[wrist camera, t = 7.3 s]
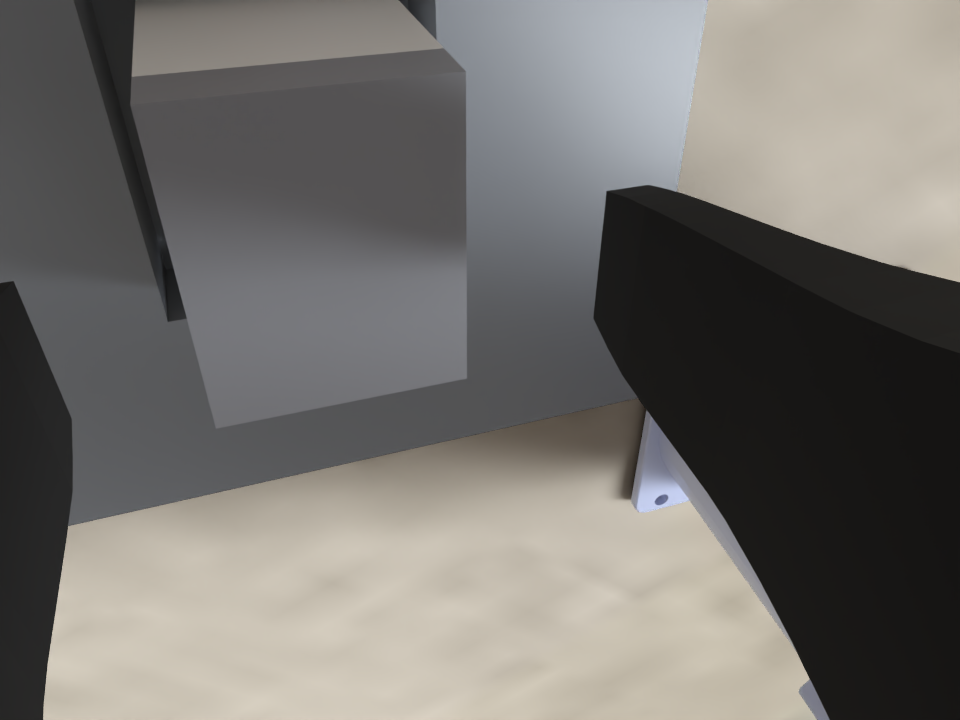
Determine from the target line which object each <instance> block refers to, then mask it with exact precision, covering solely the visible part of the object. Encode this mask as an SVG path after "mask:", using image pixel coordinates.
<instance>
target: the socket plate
mask: <svg viewBox="0 0 960 720" xmlns="http://www.w3.org/2000/svg"><path fill="white" fill-rule="evenodd" d="M399 1H400V2H401V3H402V4H403V5H404V6H405V7H406V8H407V10H408V11H409V12H410V13H411V14H412V15H413V16H414V17H415V18H416V19H417V20H418V21H419V22H420V23H421V24H422V25H423V27H424V28H425V29H426V30H427V31H428V32H429V33H430V34H431V35H432V36H433V37H434V38H435V39H436V40H437V41H438V42H439V43H440V45H441V46H442V47H443V48H444V49H445V50H446V51H447V52H448V53H449V54H450V55H451V56H452V57H453V58H454V59H455V60H456V62H457V63H458V64H459V65H460V66H461V67H462V68H463V69H464V70H465V71H466V240H467V379H462V380H457V381H452V382H447V383H442V384H437V385H432V386H427V387H422V388H417V389H412V390H407V391H402V392H397V393H392V394H387V395H382V396H377V397H372V398H367V399H362V400H357V401H352V402H347V403H342V404H337V405H332V406H327V407H322V408H317V409H312V410H307V411H302V412H297V413H292V414H287V415H282V416H277V417H272V418H267V419H262V420H257V421H252V422H247V423H242V424H237V425H232V426H227V427H222V428H217V429H216V427H215V423H214V419H213V415H212V412H211V408H210V404H209V400H208V397H207V393H206V389H205V385H204V381H203V378H202V374H201V370H200V366H199V363H198V359H197V355H196V351H195V347H194V344H193V340H192V336H191V332H190V329H189V325H188V321H187V317H186V313H185V310H184V306H183V302H182V298H181V295H180V291H179V287H178V283H177V280H176V276H175V272H174V268H173V264H172V261H171V257H170V253H169V249H168V246H167V242H166V238H165V234H164V230H163V227H162V223H161V219H160V215H159V212H158V208H157V204H156V200H155V196H154V193H153V189H152V185H151V181H150V178H149V174H148V170H147V166H146V163H145V159H144V155H143V151H142V147H141V144H140V140H139V136H138V132H137V129H136V125H135V121H134V117H133V113H132V110H131V106H130V100H131V80H132V59H133V39H134V19H135V0H0V283H3V282H10V281H14V283H15V285H16V288H17V290H18V292H19V295H20V297H21V300H22V302H23V304H24V307H25V309H26V311H27V314H28V316H29V319H30V321H31V323H32V326H33V328H34V330H35V333H36V335H37V338H38V340H39V342H40V345H41V347H42V349H43V352H44V354H45V357H46V359H47V361H48V364H49V366H50V368H51V371H52V373H53V375H54V378H55V380H56V383H57V385H58V387H59V390H60V392H61V394H62V397H63V399H64V402H65V404H66V406H67V409H68V411H69V413H70V416H71V418H72V447H73V493H72V501H71V508H70V516H69V523H68V526H70V525H75V524H79V523H84V522H88V521H93V520H97V519H102V518H106V517H110V516H115V515H119V514H124V513H128V512H133V511H137V510H142V509H146V508H151V507H155V506H159V505H164V504H168V503H173V502H177V501H182V500H186V499H191V498H195V497H200V496H204V495H208V494H213V493H217V492H222V491H226V490H231V489H235V488H240V487H244V486H249V485H253V484H257V483H262V482H266V481H271V480H275V479H280V478H284V477H289V476H293V475H297V474H302V473H306V472H311V471H315V470H320V469H324V468H329V467H333V466H338V465H342V464H346V463H351V462H355V461H360V460H364V459H369V458H373V457H378V456H382V455H387V454H391V453H395V452H400V451H404V450H409V449H413V448H418V447H422V446H427V445H431V444H436V443H440V442H444V441H449V440H453V439H458V438H462V437H467V436H471V435H476V434H480V433H485V432H489V431H493V430H498V429H502V428H507V427H511V426H516V425H520V424H525V423H529V422H533V421H538V420H542V419H547V418H551V417H556V416H560V415H565V414H569V413H574V412H578V411H582V410H587V409H591V408H596V407H600V406H605V405H609V404H614V403H618V402H623V401H627V400H631V399H636V398H638V397H637V396H636V394H635V393H634V391H633V390H632V389H631V387H630V386H629V384H628V383H627V381H626V380H625V379H624V377H623V376H622V374H621V372H620V370H619V368H618V367H617V365H616V363H615V361H614V359H613V357H612V355H611V354H610V352H609V350H608V348H607V346H606V344H605V342H604V340H603V338H602V335H601V333H600V331H599V329H598V327H597V325H596V323H595V321H594V319H593V316H594V306H595V296H596V287H597V277H598V268H599V258H600V249H601V239H602V230H603V220H604V210H605V201H606V191H610V190H617V189H624V188H630V187H637V186H643V185H652V186H656V187H661V188H665V189H668V190H672V191H675V192H677V187H678V180H679V174H680V168H681V162H682V156H683V150H684V144H685V138H686V132H687V126H688V120H689V114H690V108H691V102H692V95H693V89H694V83H695V77H696V71H697V65H698V59H699V53H700V47H701V41H702V35H703V29H704V23H705V17H706V10H707V4H708V0H399Z"/></svg>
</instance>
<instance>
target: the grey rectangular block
mask: <svg viewBox="0 0 960 720" xmlns="http://www.w3.org/2000/svg"><path fill="white" fill-rule="evenodd" d="M130 106H131V110H132V113H133V117H134V121H135V125H136V129H137V132H138V136H139V140H140V144H141V147H142V151H143V155H144V159H145V163H146V166H147V170H148V174H149V178H150V181H151V185H152V189H153V193H154V196H155V200H156V204H157V208H158V212H159V215H160V219H161V223H162V227H163V230H164V234H165V238H166V242H167V246H168V249H169V253H170V257H171V261H172V264H173V268H174V272H175V276H176V280H177V283H178V287H179V291H180V295H181V298H182V302H183V306H184V310H185V313H186V317H187V321H188V325H189V329H190V332H191V336H192V340H193V344H194V347H195V351H196V355H197V359H198V363H199V366H200V370H201V374H202V378H203V381H204V385H205V389H206V393H207V397H208V400H209V404H210V408H211V412H212V415H213V419H214V423H215V427H216V429H217V428H222V427H227V426H232V425H237V424H242V423H247V422H252V421H257V420H262V419H267V418H272V417H277V416H282V415H287V414H292V413H297V412H302V411H307V410H312V409H317V408H322V407H327V406H332V405H337V404H342V403H347V402H352V401H357V400H362V399H367V398H372V397H377V396H382V395H387V394H392V393H397V392H402V391H407V390H412V389H417V388H422V387H427V386H432V385H437V384H442V383H447V382H452V381H457V380H462V379H467V240H466V71H465V70H464V69H463V68H462V67H461V66H460V65H459V64H458V63H457V62H456V60H455V59H454V58H453V57H452V56H451V55H450V54H449V53H448V52H447V51H446V50H445V49H444V48H443V47H442V46H441V45H440V43H439V42H438V41H437V40H436V39H435V38H434V37H433V36H432V35H431V34H430V33H429V32H428V31H427V30H426V29H425V28H424V27H423V25H422V24H421V23H420V22H419V21H418V20H417V19H416V18H415V17H414V16H413V15H412V14H411V13H410V12H409V11H408V10H407V8H406V7H405V6H404V5H403V4H402V3H401V2H400V1H399V0H135V19H134V39H133V59H132V80H131V100H130Z"/></svg>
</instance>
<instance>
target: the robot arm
mask: <svg viewBox="0 0 960 720" xmlns="http://www.w3.org/2000/svg"><path fill="white" fill-rule="evenodd" d="M593 319H594V321H595V323H596V325H597V327H598V329H599V331H600V333H601V335H602V338H603V340H604V342H605V344H606V346H607V348H608V350H609V352H610V354H611V355H612V357H613V359H614V361H615V363H616V365H617V367H618V368H619V370H620V372H621V374H622V376H623V377H624V379H625V380H626V381H627V383H628V384H629V386H630V387H631V389H632V390H633V391H634V393H635V394H636V396H637V397H638V398H639V400H640V401H641V403H642V404H643V405H644V407H645V408H646V416H645V421H644V427H643V433H642V439H641V445H640V451H639V457H638V462H637V468H636V474H635V480H634V486H633V492H632V498H631V502H632V504H633V506H634V508H635V509H636V510H637V511H638V512H649V511H652V510H656V509H660V508H664V507H668V506H671V505H675V504H679V503H683V502H687V501H690V502H691V503H692V505H693V506H694V507H695V509H696V510H697V512H698V513H699V514H700V516H701V517H702V519H703V520H704V522H705V523H706V524H707V526H708V527H709V529H710V530H711V531H712V533H713V534H714V536H715V537H716V539H717V540H718V541H719V543H720V544H721V546H722V547H723V548H724V550H725V551H726V553H727V554H728V555H729V557H730V558H731V560H732V561H733V563H734V564H735V565H736V567H737V568H738V570H739V571H740V572H741V574H742V575H743V577H744V578H745V580H746V581H747V582H748V584H749V585H750V587H751V588H752V589H753V591H754V592H755V594H756V595H757V597H758V598H759V599H760V601H761V602H762V604H763V605H764V606H765V608H766V609H767V611H768V612H769V614H770V615H771V616H772V618H773V619H774V621H775V622H776V623H777V625H778V626H779V628H780V629H781V630H782V632H783V633H784V635H785V636H786V638H787V639H788V640H789V642H790V643H791V645H792V646H793V647H794V649H795V650H796V652H797V653H798V655H799V657H800V660H801V662H802V664H803V666H804V668H805V670H806V672H807V674H808V676H809V678H810V680H809V681H807V682H806V683H805V684H804V685H803V686H802V687H801V688H800V689H799V694H800V695H801V697H802V698H803V700H804V701H805V703H806V704H807V705H808V707H809V708H810V710H811V711H812V713H813V714H814V716H815V717H816V719H817V720H960V282H956V281H952V280H948V279H943V278H939V277H935V276H931V275H927V274H923V273H919V272H915V271H911V270H907V269H903V268H899V267H896V266H892V265H889V264H885V263H881V262H878V261H875V260H871V259H868V258H865V257H862V256H859V255H856V254H852V253H849V252H846V251H843V250H840V249H837V248H834V247H830V246H827V245H824V244H821V243H818V242H815V241H813V240H810V239H807V238H804V237H801V236H798V235H795V234H792V233H790V232H787V231H784V230H781V229H779V228H776V227H773V226H770V225H768V224H765V223H762V222H759V221H757V220H754V219H751V218H749V217H746V216H743V215H741V214H738V213H735V212H732V211H730V210H727V209H724V208H722V207H719V206H716V205H713V204H711V203H708V202H705V201H702V200H700V199H697V198H694V197H691V196H688V195H685V194H682V193H679V192H675V191H672V190H668V189H665V188H661V187H656V186H652V185H643V186H637V187H630V188H624V189H617V190H610V191H606V201H605V210H604V220H603V230H602V239H601V249H600V258H599V268H598V277H597V287H596V296H595V306H594V316H593ZM72 493H73V447H72V418H71V416H70V413H69V411H68V409H67V406H66V404H65V402H64V399H63V397H62V394H61V392H60V390H59V387H58V385H57V383H56V380H55V378H54V375H53V373H52V371H51V368H50V366H49V364H48V361H47V359H46V357H45V354H44V352H43V349H42V347H41V345H40V342H39V340H38V338H37V335H36V333H35V330H34V328H33V326H32V323H31V321H30V319H29V316H28V314H27V311H26V309H25V307H24V304H23V302H22V300H21V297H20V295H19V292H18V290H17V288H16V285H15V283H14V281H10V282H3V283H0V720H43V704H44V694H45V683H46V673H47V663H48V657H49V650H50V644H51V637H52V630H53V624H54V617H55V610H56V604H57V597H58V591H59V584H60V577H61V571H62V564H63V558H64V551H65V544H66V537H67V530H68V523H69V516H70V508H71V501H72Z"/></svg>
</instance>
